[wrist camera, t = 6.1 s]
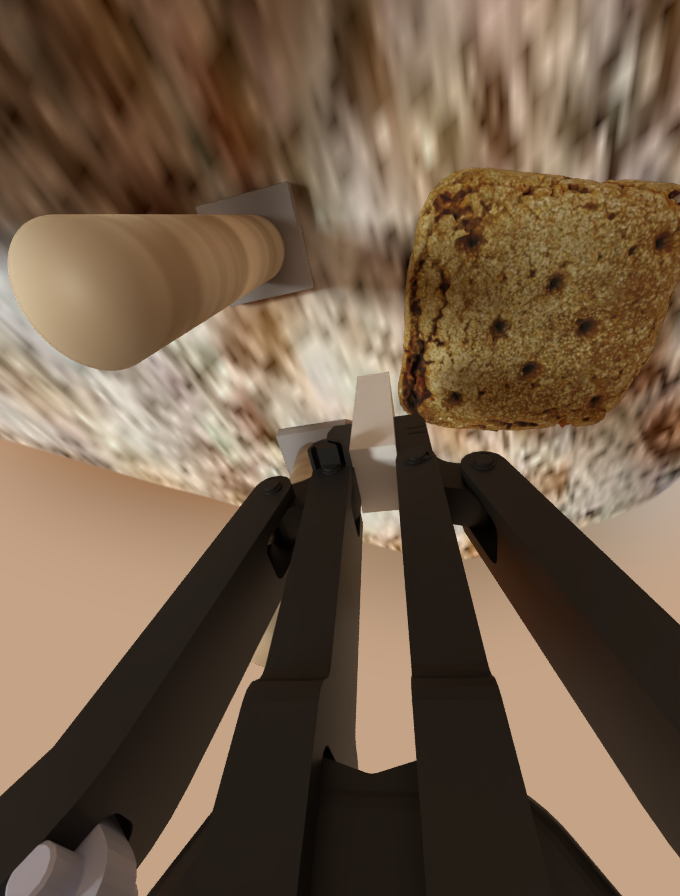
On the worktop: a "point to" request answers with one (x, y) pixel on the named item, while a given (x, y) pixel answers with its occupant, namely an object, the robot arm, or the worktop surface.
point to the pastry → (534, 297)
